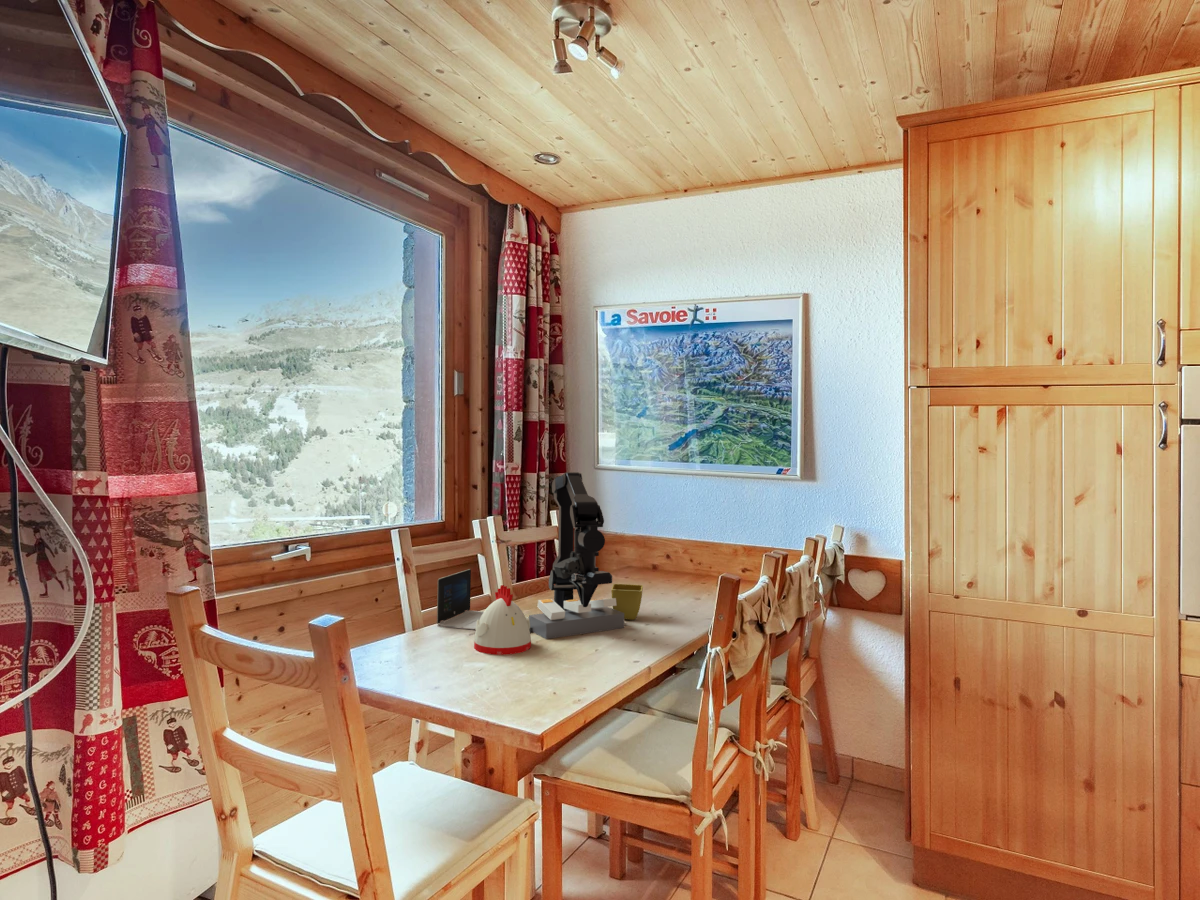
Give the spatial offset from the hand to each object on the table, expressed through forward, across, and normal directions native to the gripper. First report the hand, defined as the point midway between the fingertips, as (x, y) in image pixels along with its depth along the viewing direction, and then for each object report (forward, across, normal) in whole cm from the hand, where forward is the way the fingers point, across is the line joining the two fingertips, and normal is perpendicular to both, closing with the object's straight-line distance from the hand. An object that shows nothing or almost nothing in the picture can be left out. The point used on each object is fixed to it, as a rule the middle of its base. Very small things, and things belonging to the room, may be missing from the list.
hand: (584, 606), depth 191 cm
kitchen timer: (+7, +2, -24) cm, 25 cm away
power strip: (+7, -4, -3) cm, 8 cm away
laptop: (+7, -25, -21) cm, 34 cm away
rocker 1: (0, -4, -8) cm, 9 cm away
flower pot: (+7, -8, +19) cm, 22 cm away
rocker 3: (0, -4, +8) cm, 9 cm away
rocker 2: (0, -4, 0) cm, 4 cm away
